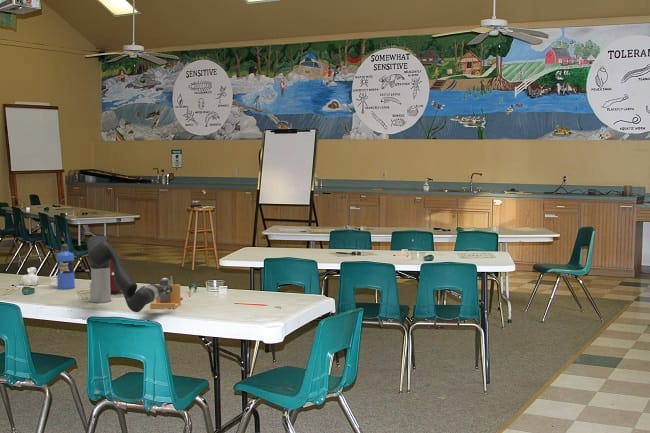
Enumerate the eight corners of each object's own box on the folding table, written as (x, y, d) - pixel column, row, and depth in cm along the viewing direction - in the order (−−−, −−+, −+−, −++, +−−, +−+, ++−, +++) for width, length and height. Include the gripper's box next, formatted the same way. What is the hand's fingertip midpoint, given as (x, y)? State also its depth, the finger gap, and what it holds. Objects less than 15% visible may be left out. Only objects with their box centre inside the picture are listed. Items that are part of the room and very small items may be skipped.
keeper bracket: (150, 308, 391) (149, 288, 390) (157, 304, 402) (156, 284, 401) (174, 309, 390) (174, 288, 389) (180, 304, 401) (180, 284, 400)
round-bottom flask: (129, 291, 440) (128, 254, 439) (120, 295, 427) (119, 258, 426) (106, 290, 442) (105, 254, 440) (96, 295, 429) (95, 257, 428)
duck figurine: (39, 289, 461) (47, 272, 467) (31, 283, 456) (39, 265, 461) (23, 288, 466) (31, 271, 472) (15, 281, 460) (23, 264, 466)
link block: (160, 305, 394) (159, 279, 393) (162, 303, 398) (161, 277, 397) (168, 305, 394) (167, 279, 393) (170, 303, 398) (169, 277, 397)
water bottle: (60, 286, 456) (59, 242, 454) (77, 286, 456) (75, 242, 454) (55, 289, 447) (53, 244, 445) (72, 289, 447) (70, 244, 445)
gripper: (165, 285, 371) (174, 279, 387) (134, 285, 372) (145, 279, 388) (165, 301, 371) (175, 295, 387) (135, 301, 373) (146, 294, 389)
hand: (160, 287), depth 388 cm, fingers open, 8 cm apart
